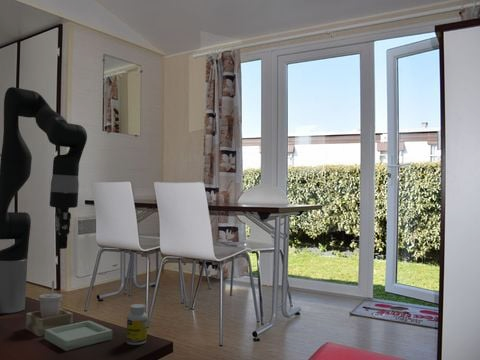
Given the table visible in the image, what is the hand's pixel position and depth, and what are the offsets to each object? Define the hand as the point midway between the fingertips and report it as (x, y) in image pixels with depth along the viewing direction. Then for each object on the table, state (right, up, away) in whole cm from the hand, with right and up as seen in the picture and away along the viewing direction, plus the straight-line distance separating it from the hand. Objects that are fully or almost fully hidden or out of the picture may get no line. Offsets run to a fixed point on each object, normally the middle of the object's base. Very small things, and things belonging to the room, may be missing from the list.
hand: (61, 246), depth 119 cm
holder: (-4, -25, +1) cm, 25 cm away
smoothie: (-4, -25, +1) cm, 25 cm away
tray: (+8, -24, -7) cm, 27 cm away
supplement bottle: (+24, -25, -8) cm, 36 cm away
